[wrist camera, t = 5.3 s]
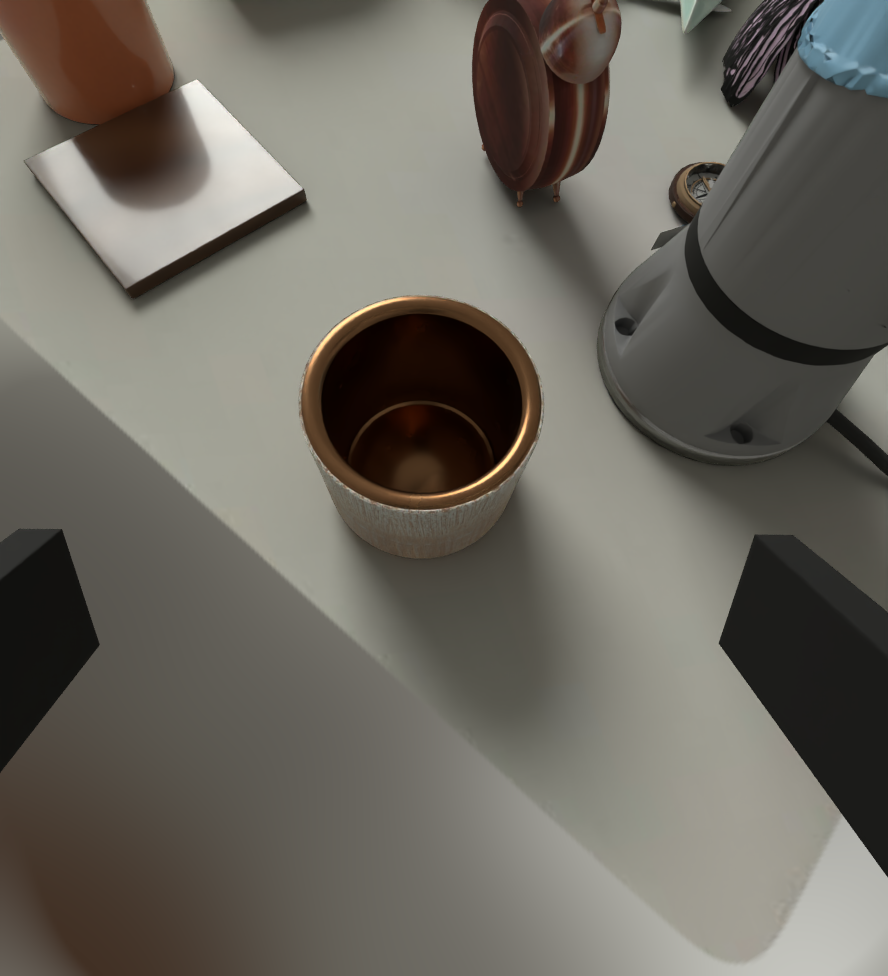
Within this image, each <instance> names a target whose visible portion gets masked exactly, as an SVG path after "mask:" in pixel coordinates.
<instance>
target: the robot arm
mask: <svg viewBox="0 0 888 976" xmlns="http://www.w3.org/2000/svg"><path fill="white" fill-rule="evenodd" d="M659 247H661V248H660V249H659V250H658V251H656V252H655V253H654V254H653V255H652V256H650V257H649V258H648V259H647V260H646V261H644V262H643V263H642V264H641V265H640V266H638V267H637V268H636V269H635V270H634V271H633V272H632V273H631V274H630V275H629V276H628V277H627V278H626V280H625V281H624V282H623V283H622V284H621V286H620V287H619V288H618V290H617V291H616V293H615V294H614V296H613V298H612V300H611V301H610V303H609V305H608V307H607V309H606V311H605V313H604V316H603V318H602V320H601V324H600V327H599V332H598V338H597V354H598V362H599V367H600V371H601V374H602V378H603V380H604V382H605V385H606V387H607V389H608V391H609V393H610V395H611V397H612V398H613V400H614V401H615V403H616V404H617V406H618V407H619V409H620V410H621V411H622V412H623V414H624V415H625V416H626V417H627V418H628V419H629V420H630V421H631V422H632V424H633V425H635V426H636V427H637V428H638V429H639V430H640V431H641V432H642V433H644V434H645V435H646V436H648V437H649V438H650V439H652V440H653V441H655V442H657V443H658V444H660V445H661V446H663V447H665V448H667V449H669V450H671V451H673V452H675V453H677V454H680V455H682V456H684V457H687V458H691V459H694V460H697V461H701V462H705V463H711V464H718V465H747V464H754V463H758V462H762V461H766V460H769V459H771V458H774V457H777V456H779V455H780V454H782V453H784V452H786V451H788V450H790V449H791V448H793V447H795V446H796V445H798V444H800V443H801V442H803V441H804V440H806V439H807V438H809V437H810V436H811V435H812V434H813V433H814V432H816V431H817V429H819V428H820V427H821V426H822V425H823V424H824V423H825V422H826V421H827V422H828V423H829V424H830V425H831V426H833V427H834V428H835V429H836V430H837V431H838V432H840V433H841V434H842V435H843V436H844V437H845V438H847V439H848V440H849V441H850V442H851V443H852V444H853V445H855V446H856V447H857V448H858V449H859V450H860V451H861V452H862V453H863V454H864V455H865V456H866V457H867V458H868V459H870V460H871V461H872V462H873V463H874V464H875V465H876V466H877V467H878V468H879V469H880V470H881V471H883V472H884V473H885V474H886V475H887V476H888V455H887V454H886V453H885V452H884V451H883V450H882V449H881V448H880V447H879V446H878V445H877V444H876V443H874V442H873V441H872V440H871V439H870V438H869V437H868V436H867V435H866V434H864V433H863V432H862V431H861V430H860V429H859V428H858V427H856V426H855V425H854V424H853V423H852V422H851V421H849V420H848V419H847V418H846V417H845V416H844V415H842V414H841V413H840V412H839V411H838V410H837V409H836V408H837V407H838V405H839V404H840V402H841V401H842V399H843V398H844V397H845V395H846V394H847V392H848V391H849V390H850V388H851V387H852V385H853V384H854V383H855V381H856V380H857V378H858V377H859V376H860V374H861V373H862V371H863V370H864V369H865V367H866V366H867V364H868V363H869V362H870V360H871V359H872V357H873V356H874V355H875V354H876V353H877V352H879V351H880V350H881V349H883V348H884V347H886V346H887V345H888V0H824V1H823V2H822V3H821V4H820V5H819V6H818V7H817V8H816V9H815V11H814V12H813V13H812V14H811V16H810V17H809V18H808V20H807V21H806V23H805V25H804V27H803V29H802V31H801V37H800V39H799V41H798V46H797V47H796V49H795V51H794V52H793V54H792V56H791V57H790V59H789V61H788V62H787V64H786V66H785V67H784V69H783V71H782V72H781V74H780V76H779V77H778V79H777V81H776V82H775V84H774V86H773V87H772V89H771V91H770V92H769V94H768V96H767V97H766V99H765V101H764V102H763V104H762V105H761V107H760V109H759V110H758V112H757V114H756V115H755V117H754V119H753V120H752V122H751V124H750V125H749V127H748V129H747V130H746V132H745V134H744V135H743V137H742V139H741V140H740V142H739V144H738V145H737V147H736V149H735V150H734V152H733V154H732V155H731V157H730V159H729V160H728V162H727V164H726V165H725V167H724V168H723V170H722V172H721V173H720V175H719V177H718V178H717V180H716V182H715V183H714V185H713V187H712V188H711V190H710V192H709V193H708V195H707V197H706V198H705V200H704V202H703V203H702V205H701V207H700V208H699V210H698V211H697V213H696V215H695V216H694V218H693V220H692V221H691V223H690V224H688V225H684V226H681V227H678V228H675V229H672V230H668V231H665V232H662V233H660V235H659V236H658V238H657V240H656V242H655V244H654V245H653V247H652V249H651V250H653V249H656V248H659ZM719 645H720V646H721V647H722V649H723V650H724V651H725V653H726V654H727V656H728V657H729V658H730V660H731V661H732V663H733V664H734V665H735V667H736V668H737V669H738V671H739V672H740V674H741V675H742V676H743V678H744V679H745V680H746V682H747V683H748V685H749V686H750V687H751V689H752V690H753V692H754V693H755V694H756V696H757V697H758V698H759V700H760V701H761V703H762V704H763V705H764V707H765V708H766V710H767V711H768V712H769V714H770V715H771V716H772V718H773V719H774V721H775V722H776V723H777V725H778V726H779V728H780V729H781V730H782V732H783V733H784V734H785V736H786V737H787V739H788V740H789V741H790V743H791V744H792V746H793V747H794V748H795V750H796V751H797V752H798V754H799V755H800V757H801V758H802V759H803V761H804V762H805V764H806V765H807V766H808V768H809V769H810V770H811V772H812V773H813V775H814V776H815V777H816V779H817V780H818V782H819V783H820V784H821V786H822V787H823V788H824V790H825V791H826V793H827V794H828V795H829V797H830V798H831V800H832V801H833V802H834V804H835V805H836V806H837V808H838V809H839V811H840V812H841V813H842V815H843V816H844V818H845V819H846V820H847V822H848V823H849V824H850V826H851V827H852V829H853V830H854V831H855V833H856V834H857V835H858V837H859V838H860V840H861V841H862V842H863V844H864V845H865V847H866V848H867V849H868V851H869V852H870V853H871V855H872V856H873V858H874V859H875V860H876V862H877V863H878V865H879V866H880V867H881V869H882V870H883V871H884V873H885V874H886V876H887V877H888V612H887V611H885V610H884V609H883V608H882V607H881V606H879V605H878V604H877V603H876V602H874V601H873V600H872V599H871V598H869V597H868V596H867V595H866V594H865V593H863V592H862V591H861V590H860V589H858V588H857V587H856V586H855V585H854V584H852V583H851V582H850V581H849V580H847V579H846V578H845V577H844V576H843V575H841V574H840V573H839V572H838V571H836V570H835V569H834V568H833V567H831V566H830V565H829V564H828V563H827V562H825V561H824V560H823V559H822V558H820V557H819V556H818V555H817V554H816V553H814V552H813V551H812V550H811V549H809V548H808V547H807V546H806V545H805V544H803V543H802V542H801V541H800V540H798V539H797V538H796V537H795V536H793V535H755V536H754V539H753V542H752V545H751V548H750V551H749V554H748V557H747V560H746V563H745V566H744V569H743V572H742V575H741V578H740V581H739V584H738V587H737V590H736V593H735V596H734V599H733V602H732V605H731V608H730V611H729V614H728V617H727V620H726V623H725V626H724V629H723V632H722V635H721V638H720V641H719ZM98 646H99V641H98V638H97V635H96V632H95V630H94V626H93V623H92V620H91V617H90V614H89V611H88V608H87V605H86V601H85V598H84V596H83V592H82V589H81V586H80V583H79V580H78V577H77V574H76V571H75V568H74V565H73V562H72V559H71V556H70V552H69V549H68V546H67V543H66V540H65V537H64V534H63V531H62V529H18V530H17V531H15V532H14V533H12V534H11V535H10V536H9V537H7V538H6V539H4V540H3V541H2V542H0V772H1V771H2V770H3V768H4V767H5V766H6V765H7V763H8V762H9V761H10V759H11V758H12V757H13V756H14V754H15V753H16V752H17V750H18V749H19V748H20V747H21V745H22V744H23V743H24V741H25V740H26V739H27V738H28V736H29V735H30V734H31V732H32V731H33V730H34V729H35V727H36V726H37V725H38V723H39V722H40V721H41V720H42V718H43V717H44V716H45V715H46V713H47V712H48V711H49V709H50V708H51V707H52V705H53V704H54V703H55V702H56V700H57V699H58V698H59V696H60V695H61V694H62V693H63V691H64V690H65V689H66V688H67V686H68V685H69V684H70V682H71V681H72V680H73V679H74V677H75V676H76V675H77V673H78V672H79V671H80V670H81V668H82V667H83V665H84V664H85V663H86V662H87V661H88V659H89V658H90V657H91V655H92V654H93V653H94V651H95V650H96V649H97V648H98Z"/></svg>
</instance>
